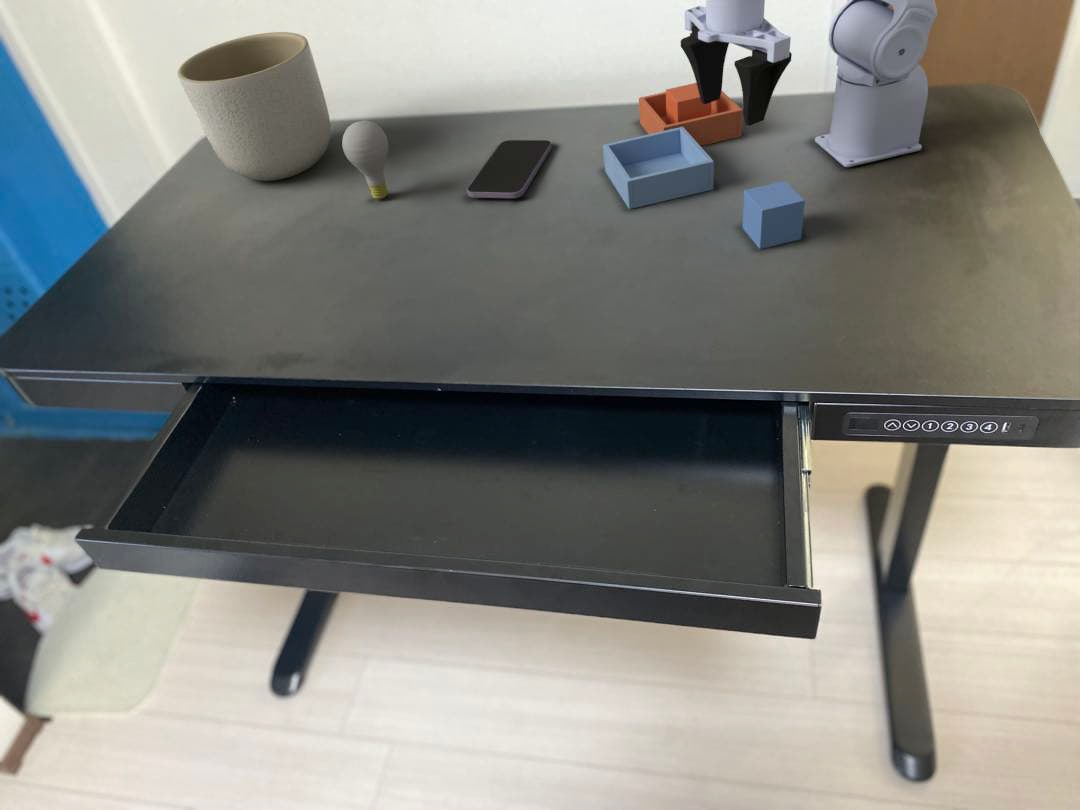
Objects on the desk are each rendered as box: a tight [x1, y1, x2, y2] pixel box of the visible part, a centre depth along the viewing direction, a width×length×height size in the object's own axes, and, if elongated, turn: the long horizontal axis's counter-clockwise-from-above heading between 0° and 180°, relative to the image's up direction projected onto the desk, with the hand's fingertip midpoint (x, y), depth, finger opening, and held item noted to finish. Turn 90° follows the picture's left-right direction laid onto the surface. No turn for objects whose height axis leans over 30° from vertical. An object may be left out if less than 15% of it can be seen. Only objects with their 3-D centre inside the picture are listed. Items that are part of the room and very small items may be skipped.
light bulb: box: [341, 120, 389, 201], centre depth 98 cm, size 6×6×10 cm
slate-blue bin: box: [602, 127, 715, 210], centre depth 94 cm, size 10×10×4 cm
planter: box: [177, 31, 332, 182], centre depth 108 cm, size 17×17×15 cm
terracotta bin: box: [638, 89, 743, 147], centre depth 102 cm, size 10×10×4 cm
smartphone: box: [466, 139, 553, 199], centre depth 101 cm, size 7×1×15 cm
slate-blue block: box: [742, 180, 806, 250], centre depth 82 cm, size 4×4×4 cm
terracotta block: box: [665, 82, 711, 125], centre depth 102 cm, size 4×4×4 cm
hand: (731, 111), depth 87 cm, fingers open, 7 cm apart
